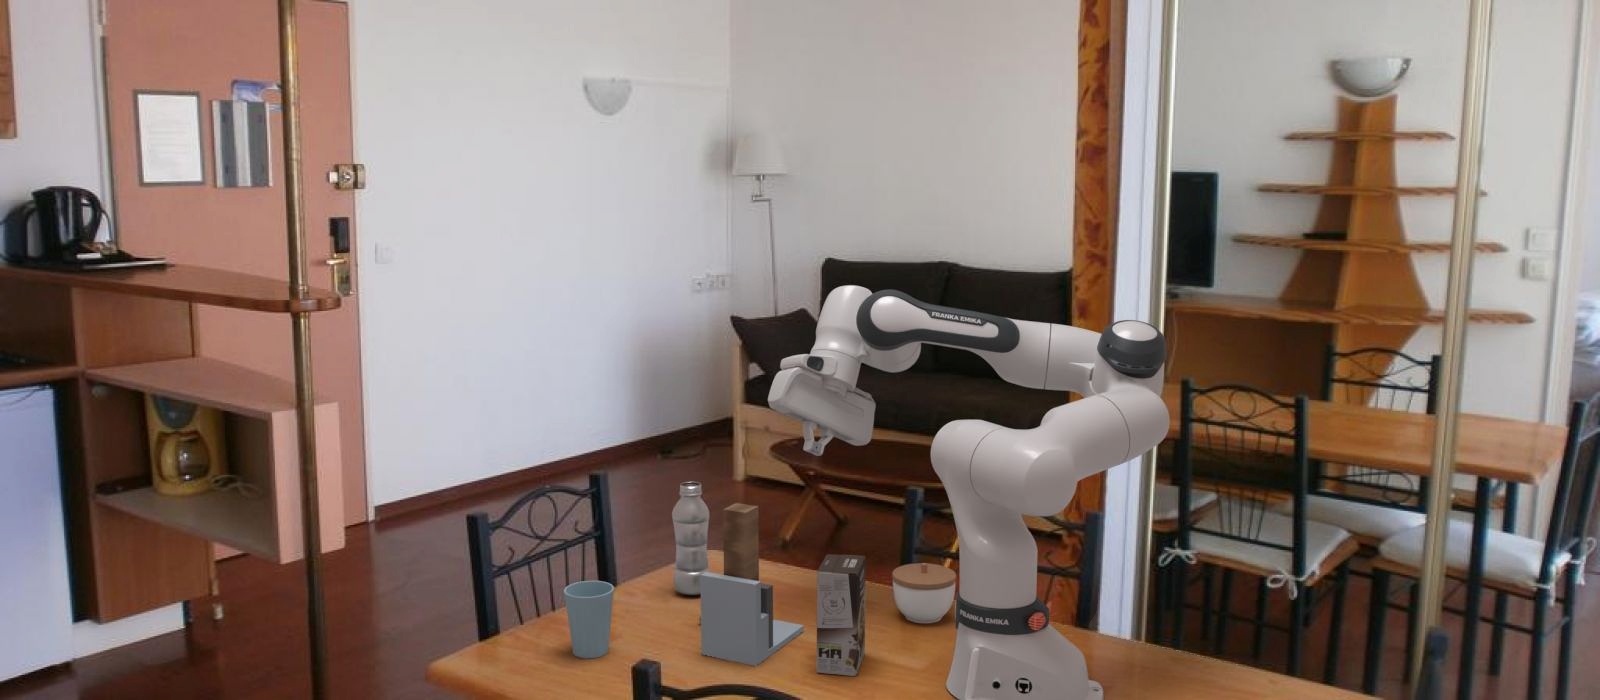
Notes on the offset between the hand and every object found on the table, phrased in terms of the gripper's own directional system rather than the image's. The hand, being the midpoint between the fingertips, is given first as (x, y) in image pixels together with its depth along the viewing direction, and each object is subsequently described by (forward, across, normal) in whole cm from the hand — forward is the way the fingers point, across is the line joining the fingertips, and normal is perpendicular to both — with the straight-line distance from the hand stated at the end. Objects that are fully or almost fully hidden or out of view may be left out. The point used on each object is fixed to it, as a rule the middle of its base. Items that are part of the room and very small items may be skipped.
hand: (812, 452), depth 207 cm
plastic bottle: (+24, -2, -29) cm, 38 cm away
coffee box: (+32, -8, +10) cm, 35 cm away
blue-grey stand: (+32, 0, -4) cm, 32 cm away
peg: (+33, +3, -2) cm, 33 cm away
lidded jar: (+20, -28, +4) cm, 34 cm away
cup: (+40, +21, -16) cm, 48 cm away
